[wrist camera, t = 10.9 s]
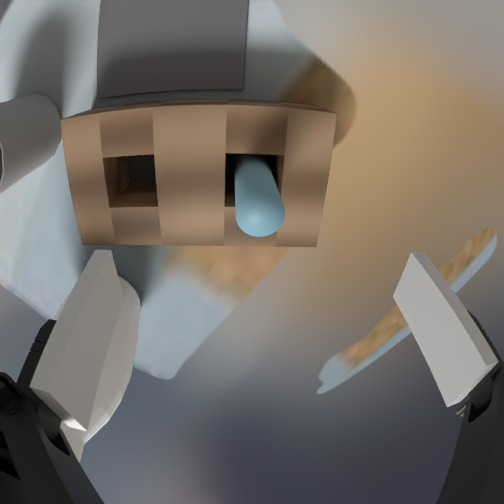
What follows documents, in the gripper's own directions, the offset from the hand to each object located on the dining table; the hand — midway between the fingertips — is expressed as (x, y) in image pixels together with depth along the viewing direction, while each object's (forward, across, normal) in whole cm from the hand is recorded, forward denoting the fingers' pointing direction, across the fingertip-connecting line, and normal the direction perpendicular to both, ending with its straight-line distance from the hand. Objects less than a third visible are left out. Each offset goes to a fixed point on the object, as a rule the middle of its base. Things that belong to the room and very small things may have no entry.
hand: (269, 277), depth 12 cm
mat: (+19, -8, +13) cm, 24 cm away
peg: (+18, 0, -1) cm, 18 cm away
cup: (+19, -24, +4) cm, 31 cm away
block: (+18, -5, -1) cm, 19 cm away
